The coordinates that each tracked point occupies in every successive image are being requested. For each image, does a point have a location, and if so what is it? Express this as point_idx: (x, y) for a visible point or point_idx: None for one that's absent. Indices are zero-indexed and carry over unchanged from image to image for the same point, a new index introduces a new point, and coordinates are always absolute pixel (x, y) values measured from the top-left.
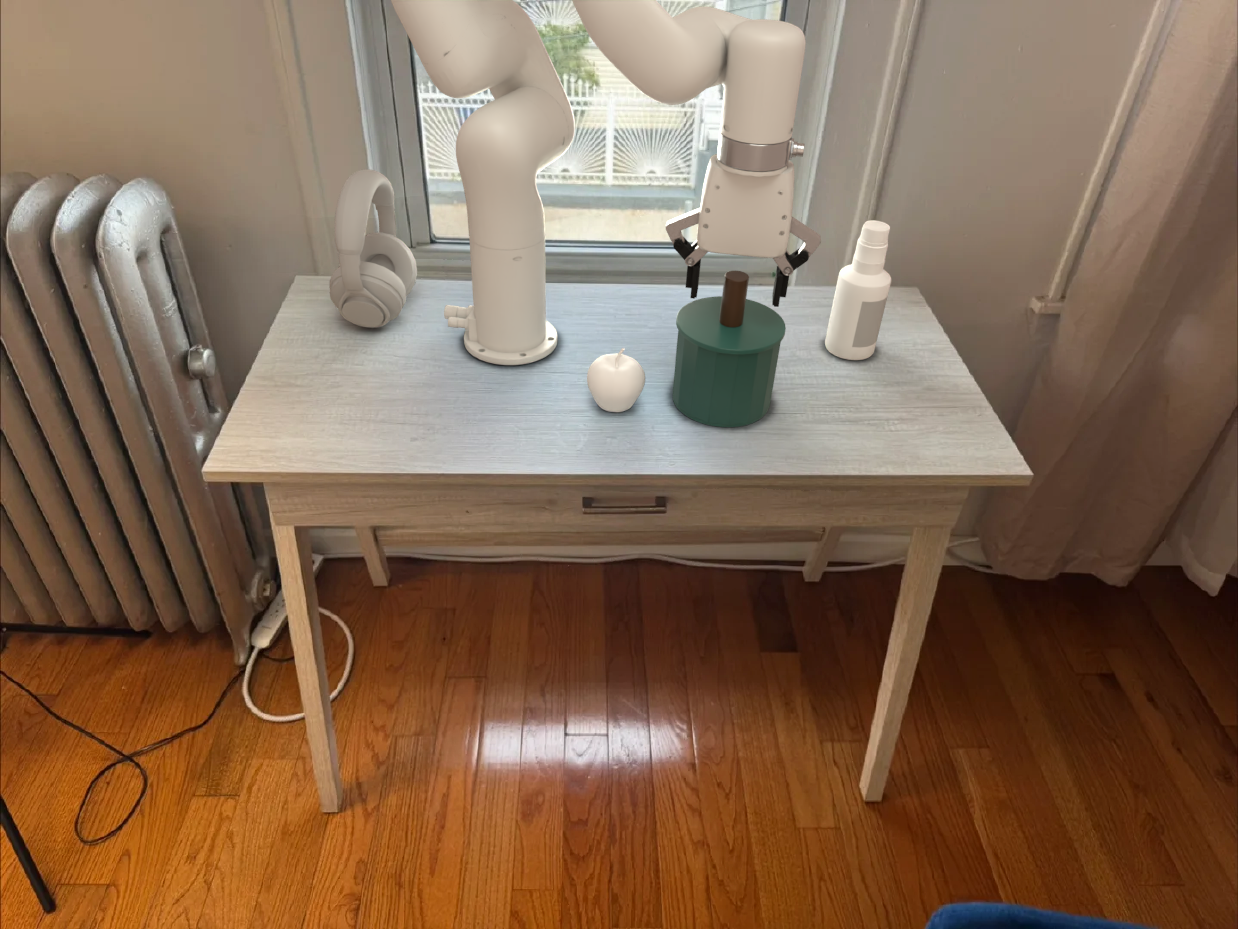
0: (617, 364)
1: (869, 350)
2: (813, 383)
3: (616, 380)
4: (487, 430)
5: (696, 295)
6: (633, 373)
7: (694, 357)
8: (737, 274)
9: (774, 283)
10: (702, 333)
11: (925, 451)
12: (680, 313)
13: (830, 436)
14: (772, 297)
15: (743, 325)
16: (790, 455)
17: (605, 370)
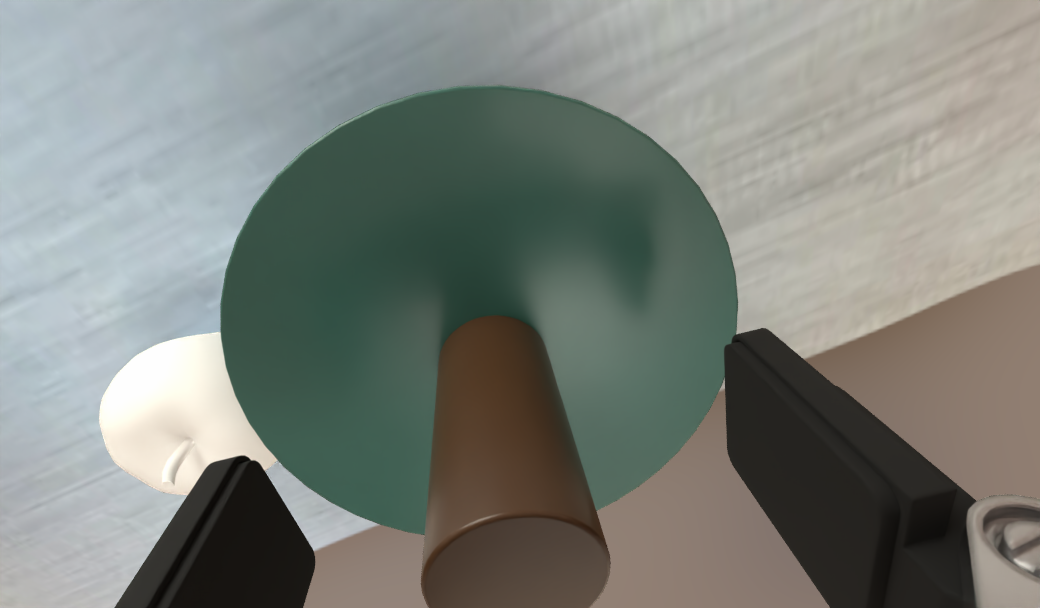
0: (187, 455)
1: None
2: (723, 21)
3: None
4: (71, 545)
5: (311, 575)
6: (256, 459)
7: None
8: (516, 566)
9: (775, 418)
10: (416, 489)
11: (970, 233)
12: (249, 396)
13: (762, 268)
14: (725, 378)
15: (555, 368)
16: None
17: (177, 490)
